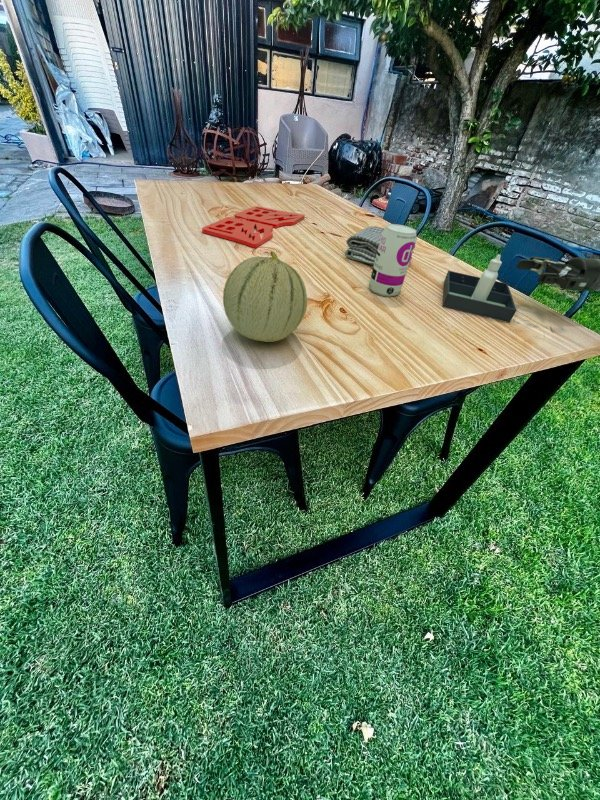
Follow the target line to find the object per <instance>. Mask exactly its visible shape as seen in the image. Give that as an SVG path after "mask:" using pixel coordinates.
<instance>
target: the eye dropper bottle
mask: <svg viewBox="0 0 600 800" xmlns="http://www.w3.org/2000/svg"><path fill="white" fill-rule="evenodd" d="M501 257H502V255H501V254H497V255H496V257H494V258H492V259H491V260H490V261H489V264H488V266H487V268H486V269H485V270H484V271H483V272H482V274H481V276H479V277H480V280H479V282H478V284H477V286H476V288H475V290H474V293H473V295H472V297H471V299H474V300H478V301H482V302H485V301H486V299H487V297H488V295H489V293H490V291H491V289H492V287H493V285H494V283H495V281H497V278H498V277H499V273H498V271H499V269H500V267H501V266H502V264H503V262H502V261H501Z"/></svg>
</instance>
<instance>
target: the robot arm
mask: <svg viewBox="0 0 600 800" xmlns="http://www.w3.org/2000/svg"><path fill="white" fill-rule="evenodd" d="M515 267H516V269H517V270H523V271H532V272H536V273H537V275H539V277H538V279H537V282H538V283H539V284H547V285H548V284H549V285H553V286H554V287H559V288H560V289H561V290H567V291H578V292H579V291H580V292H596V291H598V292H600V258H591V257H579V256H576V257H572V258H569V259H568V260H566V261H565V262H563V261H554V259H553V258H551V257H540V256H530V258H529V259H525V258H521V259H520V260H519V261H518V263H517V264H516V266H515ZM543 270H544V271H543Z"/></svg>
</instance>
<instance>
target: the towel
mask: <svg viewBox="0 0 600 800" xmlns="http://www.w3.org/2000/svg"><path fill="white" fill-rule="evenodd" d="M384 229H385V228H383V227H379V226H373V225H372V226H368V227H365V228H363V229H361V230H359V231H358V232H356V233H354V234H353V235H351V236H349V237H348V238H347V240H346V245H347V249H346V250H345V252H344V256H345V257H347V258H348V259H350V260H353V261H356V262H360V263H364V264H368V265H371V266H374V262H375V258H376V254H377V250H378V246H379V242H380V238H381V234H382V232H383V230H384ZM415 248H416V246H415V247H414V249H415ZM413 253H414V250H413ZM412 260H413V255H412V256H411V260H410V262H411V261H412Z"/></svg>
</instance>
